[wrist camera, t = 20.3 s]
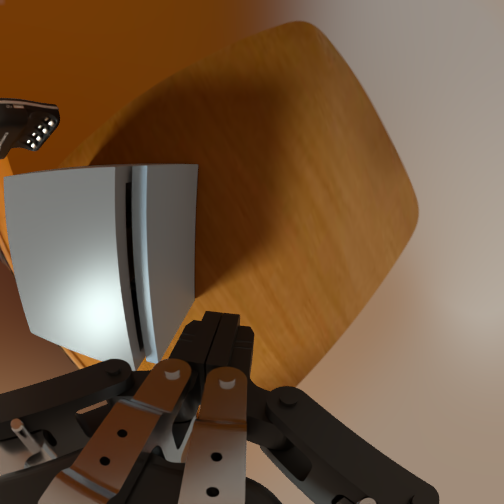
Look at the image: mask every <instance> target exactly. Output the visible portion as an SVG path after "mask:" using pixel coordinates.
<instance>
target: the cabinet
mask: <svg viewBox="0 0 504 504" xmlns="http://www.w3.org/2000/svg"><path fill="white" fill-rule="evenodd" d="M139 165H163V164H112V165H93V166H80V167H70V168H61V169H53V170H45V171H38V172H32V173H25V174H19V175H13V176H7V177H4V199H5V213H6V224H7V232H8V240H9V246H10V253H11V258H12V264H13V269H14V273H15V278H16V282H17V286H18V290H19V294H20V298H21V301H22V305H23V309H24V312H25V315H26V318H27V321H28V324H29V327H30V330H31V333H33V334H35V335H37V336H39V337H42V338H44V339H46V340H48V341H51V342H53V343H55V344H58V345H60V346H63V347H65V348H67V349H70V350H73V351H75V352H78V353H80V354H83V355H86V356H89V357H91V358H94V359H97V360H100V361H106V360H109V359H121V360H124V361H126V362H128V363H129V364H130V366H131V369H132V371H136V370H137V369H138V367H139V366H140V364H141V362H142V361H143V359H144V358H145V356H146V355H145V349H144V343H143V337H142V331H141V324H140V317H139V309H138V301H137V292H136V291H134V290H131V289H130V279H129V268H128V256H127V239H126V205H125V190H126V183H129V182H132V166H139Z"/></svg>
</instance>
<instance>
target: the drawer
mask: <svg viewBox="0 0 504 504" xmlns="http://www.w3.org/2000/svg"><path fill="white" fill-rule="evenodd" d="M197 176H198V164H163V165H139V166H132V182H129V183H126V190H125V205H126V212H132V237H133V256H134V270H135V278H134V279H133V280H132V281H131V282H130V289H131V290H134V291H136V292H137V301H138V309H139V317H140V324H141V331H142V337H143V343H144V349H145V355H146V360H147V361H148V362H152V363H156V364H157V363H158V362H160V360H161V359H162V357H163V355H164V353H165V351H166V350H167V348H168V346H169V344H170V343H171V341H172V339H173V337H174V335H175V334H176V332H177V330H178V328H179V327H180V325H181V323H182V321H183V320H184V318H185V316H186V314H187V313H188V311H189V309H190V307H191V306H192V304H193V302H194V301H195V289H194V269H195V219H196V195H197Z"/></svg>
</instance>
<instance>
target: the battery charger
mask: <svg viewBox="0 0 504 504" xmlns="http://www.w3.org/2000/svg"><path fill="white" fill-rule="evenodd" d="M58 110H59V109H58V107H57V106H56V105H54V104H46V103H39V102H34V101H28V100H22V99H11V98H0V159H4V158H5V157H6V155H7V154H8V152H9V151H10V149H11V148H17V147H20V148H25V149H28V150H31V151H37V150H38V149H39V148H40V147H41V146H42V145H43V143H44V142H45V141H46V140H47V139H48V137H49V136H50V135H51V134H52V133H53V131H54V130H55V129H56V128H57V126H58V125H59V122H60V115H59V111H58Z"/></svg>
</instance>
